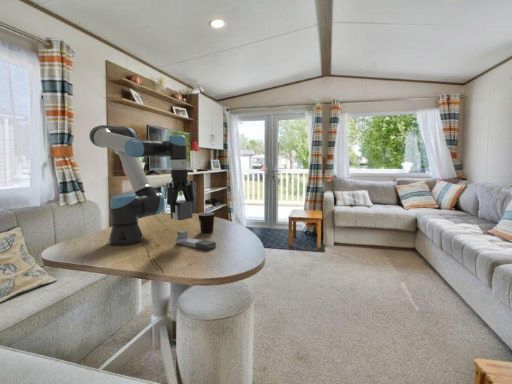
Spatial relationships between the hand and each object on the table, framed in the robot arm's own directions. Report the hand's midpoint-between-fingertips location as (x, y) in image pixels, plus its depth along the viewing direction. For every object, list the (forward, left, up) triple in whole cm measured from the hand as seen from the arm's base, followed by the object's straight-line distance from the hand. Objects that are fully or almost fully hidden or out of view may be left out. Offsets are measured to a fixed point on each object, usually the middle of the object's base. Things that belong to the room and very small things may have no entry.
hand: (181, 217), depth 136 cm
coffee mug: (-5, +22, -12) cm, 26 cm away
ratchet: (+8, 0, -12) cm, 14 cm away
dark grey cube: (0, 0, 0) cm, 0 cm away
